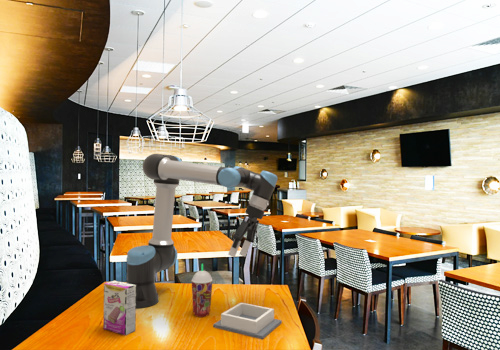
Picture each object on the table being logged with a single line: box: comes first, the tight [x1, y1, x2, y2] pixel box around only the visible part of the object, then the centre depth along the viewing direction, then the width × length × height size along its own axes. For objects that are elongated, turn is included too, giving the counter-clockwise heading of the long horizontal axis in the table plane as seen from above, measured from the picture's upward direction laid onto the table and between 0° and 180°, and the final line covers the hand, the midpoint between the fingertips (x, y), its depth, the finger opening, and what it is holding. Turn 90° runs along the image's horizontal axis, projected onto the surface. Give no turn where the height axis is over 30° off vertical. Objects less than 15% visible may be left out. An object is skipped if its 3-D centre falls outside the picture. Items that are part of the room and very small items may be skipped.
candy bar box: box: [102, 280, 137, 336], centre depth 129 cm, size 11×5×16 cm, turn 63°
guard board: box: [212, 302, 283, 340], centre depth 135 cm, size 20×16×5 cm
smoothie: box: [190, 263, 214, 318], centre depth 145 cm, size 8×8×20 cm
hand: (237, 255), depth 149 cm, fingers open, 13 cm apart
